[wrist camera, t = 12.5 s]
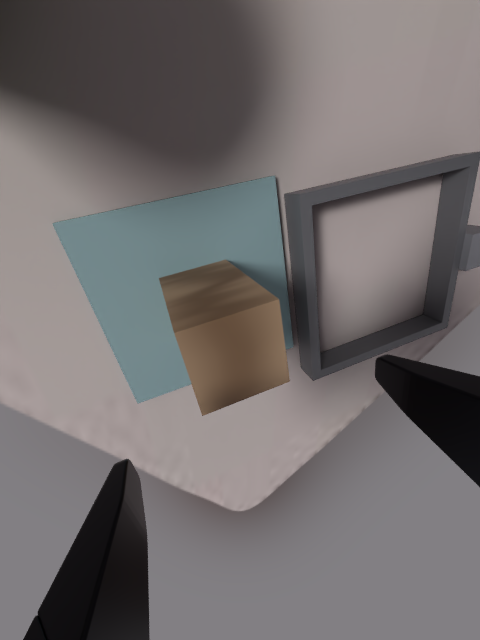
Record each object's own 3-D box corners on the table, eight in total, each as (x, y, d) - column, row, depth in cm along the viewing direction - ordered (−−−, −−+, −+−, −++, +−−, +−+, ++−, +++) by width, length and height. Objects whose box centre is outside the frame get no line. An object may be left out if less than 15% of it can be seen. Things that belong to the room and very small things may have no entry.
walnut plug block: (225, 259, 19) (279, 299, 12) (238, 318, 21) (289, 381, 14) (158, 278, 18) (173, 333, 11) (178, 338, 20) (202, 415, 13)
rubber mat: (272, 176, 18) (275, 175, 18) (291, 344, 24) (293, 346, 24) (54, 222, 15) (52, 223, 15) (137, 400, 21) (137, 403, 21)
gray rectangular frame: (477, 149, 22) (515, 144, 20) (446, 312, 29) (472, 322, 27) (284, 194, 19) (304, 194, 16) (301, 367, 25) (317, 384, 23)
